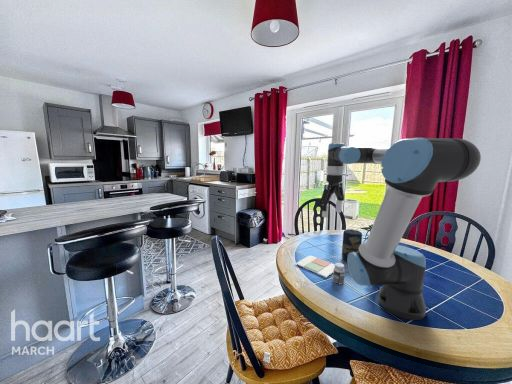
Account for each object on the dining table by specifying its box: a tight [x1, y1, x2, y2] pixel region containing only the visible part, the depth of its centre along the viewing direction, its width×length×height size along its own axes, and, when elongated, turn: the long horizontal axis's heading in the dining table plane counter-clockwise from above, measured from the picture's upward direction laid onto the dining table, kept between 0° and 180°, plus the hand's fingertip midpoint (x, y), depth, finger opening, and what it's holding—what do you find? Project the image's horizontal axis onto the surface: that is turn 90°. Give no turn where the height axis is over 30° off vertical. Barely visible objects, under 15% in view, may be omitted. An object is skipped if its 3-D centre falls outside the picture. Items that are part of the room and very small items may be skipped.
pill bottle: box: [332, 262, 346, 285], centre depth 96 cm, size 5×5×8 cm
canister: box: [341, 228, 363, 262], centre depth 116 cm, size 10×10×18 cm
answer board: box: [295, 254, 336, 279], centre depth 110 cm, size 18×14×1 cm
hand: (331, 214), depth 109 cm, fingers open, 13 cm apart
